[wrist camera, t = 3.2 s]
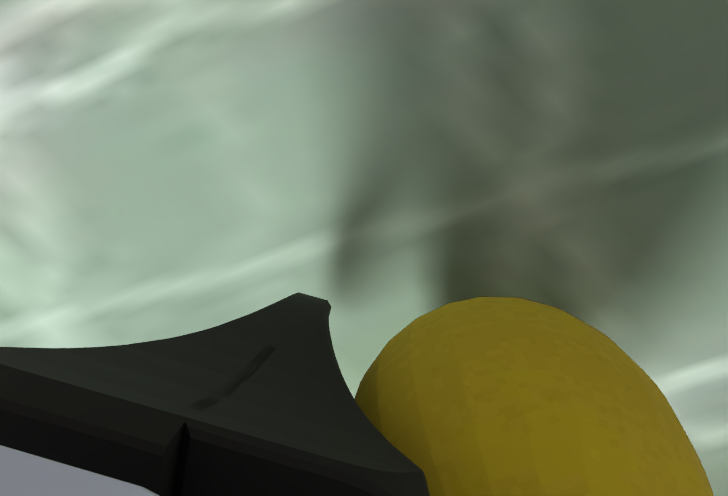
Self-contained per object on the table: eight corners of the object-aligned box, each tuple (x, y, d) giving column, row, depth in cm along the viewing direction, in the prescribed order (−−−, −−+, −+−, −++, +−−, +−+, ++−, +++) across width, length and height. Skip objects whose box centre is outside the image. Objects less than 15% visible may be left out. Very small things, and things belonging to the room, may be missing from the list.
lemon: (524, 198, 12) (759, 420, 4) (635, 394, 13) (984, 859, 5) (313, 319, 13) (178, 671, 5) (433, 488, 14) (469, 980, 6)
